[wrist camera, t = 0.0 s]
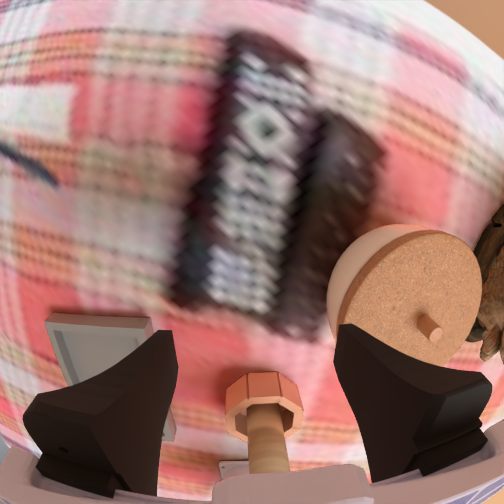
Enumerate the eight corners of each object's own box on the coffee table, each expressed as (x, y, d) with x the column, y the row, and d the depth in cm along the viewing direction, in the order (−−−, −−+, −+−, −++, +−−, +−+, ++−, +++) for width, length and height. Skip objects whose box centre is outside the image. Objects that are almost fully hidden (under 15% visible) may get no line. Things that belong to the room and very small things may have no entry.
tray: (176, 429, 27) (173, 441, 25) (94, 418, 26) (89, 428, 25) (150, 317, 23) (144, 328, 21) (53, 312, 22) (44, 321, 21)
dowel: (277, 411, 25) (289, 488, 17) (246, 413, 25) (250, 491, 17) (279, 390, 25) (293, 470, 16) (245, 392, 25) (249, 473, 16)
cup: (294, 417, 27) (298, 440, 24) (228, 421, 26) (228, 444, 23) (299, 370, 25) (305, 393, 22) (224, 373, 25) (223, 398, 21)
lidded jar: (368, 181, 20) (446, 195, 11) (444, 260, 23) (515, 302, 14) (281, 293, 23) (306, 370, 14) (370, 351, 25) (415, 421, 16)
